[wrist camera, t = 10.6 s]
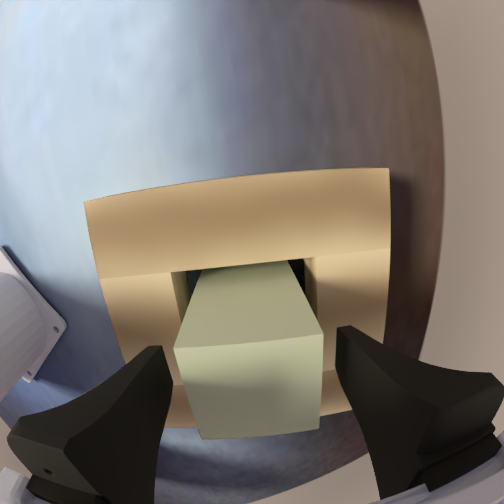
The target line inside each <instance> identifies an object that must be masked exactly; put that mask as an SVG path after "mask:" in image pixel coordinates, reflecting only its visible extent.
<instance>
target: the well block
mask: <svg viewBox="0 0 504 504" xmlns="http://www.w3.org/2000/svg"><path fill="white" fill-rule="evenodd" d="M84 208H85V214H86V220H87V226H88V231H89V236H90V241H91V246H92V251H93V255H94V260H95V264H96V269H97V273H98V277H99V281H100V285H101V288H102V292H103V296H104V299H105V303H106V306H107V310H108V313H109V316H110V320H111V323H112V326H113V329H114V332H115V335H116V338H117V341H118V344H119V347H120V350H121V353H122V355H123V358H124V361H125V364H127V363H128V362H130V361H131V360H132V359H133V358H134V357H135V356H136V355H138V354H139V353H140V352H141V351H142V350H144V349H145V348H146V347H148V346H154V345H162V347H163V350H164V354H165V357H166V360H167V364H168V367H169V370H170V373H171V376H172V380H173V391H172V398H171V404H170V408H169V411H168V415H167V418H166V422H165V426H164V427H169V428H198V427H197V424H196V421H195V419H194V416H193V413H192V410H191V406H190V403H189V400H188V397H187V394H186V391H185V388H184V384H183V381H182V378H181V374H180V371H179V367H178V364H177V360H176V357H175V353H174V349H173V347H174V344H175V341H176V339H177V336H178V333H179V330H180V327H181V325H182V322H183V319H184V316H185V314H186V311H187V308H188V305H189V303H190V300H191V298H190V292H189V287H188V282H187V276H186V271H187V270H197V269H207V268H217V267H226V266H236V265H245V264H255V263H264V262H273V261H282V260H291V259H300V258H304V275H305V297H306V299H307V301H308V303H309V305H310V307H311V309H312V311H313V313H314V315H315V317H316V319H317V321H318V323H319V325H320V327H321V330H322V332H323V369H322V391H321V407H320V416H324V415H329V414H334V413H339V412H343V411H348V410H352V408H351V406H350V403H349V401H348V399H347V397H346V395H345V393H344V391H343V389H342V387H341V384H340V381H339V378H338V375H337V372H336V369H335V354H336V330H337V327H342V326H348V325H351V326H353V327H355V328H357V329H358V330H360V331H362V332H363V333H365V334H367V335H368V336H370V337H372V338H373V339H375V340H377V341H378V342H380V343H382V344H383V338H384V330H385V321H386V311H387V300H388V287H389V271H390V243H391V208H390V180H389V168H344V169H323V170H306V171H291V172H278V173H267V174H256V175H246V176H237V177H228V178H219V179H211V180H204V181H196V182H189V183H182V184H175V185H169V186H162V187H156V188H150V189H144V190H138V191H133V192H127V193H122V194H117V195H112V196H107V197H103V198H98V199H94V200H90V201H86V202H84Z"/></svg>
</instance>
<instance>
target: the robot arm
mask: <svg viewBox="0 0 504 504" xmlns="http://www.w3.org/2000/svg"><path fill="white" fill-rule="evenodd" d="M56 327H57V328H58V329H59V330H58V329H57V328H56ZM66 327H67V324H66V322H65V321H64V319H63V318H62V317H61V316H60V315H59V314H58V313H57V312H56V311H55V310H54V309H53V308H52V307H51V306H50V305H49V304H48V302H47V301H46V300H45V299H44V298H43V297H42V296H41V295H40V294H39V292H38V291H37V290H36V289H35V288H34V287H33V286H32V284H31V283H30V282H29V281H28V280H27V278H26V277H25V276H24V275H23V274H22V272H21V271H20V270H19V269H18V267H17V266H16V265H15V263H14V262H13V261H12V260H11V258H10V257H9V256H8V254H7V253H6V252H5V250H4V249H3V248H2V247H1V246H0V402H1V401H2V399H3V398H4V397H5V396H6V394H7V393H8V392H9V391H10V390H11V388H12V387H13V386H14V385H15V384H16V383H17V381H18V380H19V379H20V378H21V377H22V378H23V379H24V380H26V381H27V382H31V381H32V380H33V378H34V377H35V375H36V373H37V372H38V370H39V369H40V367H41V365H42V364H43V362H44V361H45V359H46V358H47V356H48V355H49V353H50V352H51V350H52V349H53V347H54V346H55V344H56V343H57V341H58V340H59V338H60V337H61V335H62V334H63V332H64V331H65V329H66ZM335 369H336V372H337V375H338V378H339V381H340V384H341V387H342V389H343V391H344V393H345V395H346V397H347V399H348V401H349V403H350V406H351V408H352V410H353V412H354V414H355V416H356V418H357V420H358V422H359V424H360V427H361V429H362V432H363V435H364V438H365V441H366V444H367V447H368V450H369V454H370V457H371V461H372V465H373V468H374V472H375V476H376V481H377V485H378V490H379V495H380V501H376V502H373V503H370V504H504V431H503V432H502V433H501V434H500V435H499V436H498V437H497V438H496V437H495V435H494V434H493V432H494V431H495V426H494V425H493V424H492V423H491V422H492V420H493V418H494V416H495V415H496V413H497V411H498V409H499V407H500V405H501V403H502V400H503V398H504V386H503V384H502V383H501V382H500V381H499V380H498V379H497V378H496V377H495V376H494V375H493V374H492V373H485V372H484V373H483V372H466V371H459V370H452V369H447V368H442V367H438V366H434V365H430V364H427V363H424V362H421V361H418V360H416V359H413V358H410V357H408V356H406V355H403V354H401V353H399V352H397V351H395V350H393V349H391V348H389V347H387V346H385V345H384V344H382V343H380V342H378V341H377V340H375V339H373V338H372V337H370V336H368V335H367V334H365V333H363V332H362V331H360V330H358V329H357V328H355V327H353V326H351V325H348V326H342V327H337V330H336V354H335ZM172 391H173V380H172V376H171V373H170V370H169V367H168V364H167V360H166V357H165V354H164V350H163V347H162V345H154V346H148V347H146V348H145V349H144V350H142V351H141V352H140V353H139V354H138V355H136V356H135V357H134V358H133V359H132V360H131V361H130V362H128V363H127V364H126V365H125V366H124V367H122V368H121V369H120V370H119V371H118V372H116V373H115V374H114V375H112V376H111V377H110V378H108V379H107V380H106V381H104V382H103V383H102V384H100V385H99V386H97V387H96V388H94V389H92V390H91V391H89V392H87V393H86V394H84V395H82V396H80V397H78V398H76V399H74V400H72V401H70V402H68V403H66V404H63V405H61V406H58V407H55V408H52V409H50V410H47V411H43V412H40V413H35V414H31V415H27V416H22V417H20V418H19V420H18V421H17V422H16V424H15V425H14V427H13V429H12V430H11V432H10V433H9V435H8V436H7V441H8V444H9V446H10V448H11V450H12V451H13V452H14V454H15V455H16V456H17V457H18V459H19V460H20V461H21V462H22V463H23V464H24V465H25V467H27V469H28V470H29V471H30V472H31V473H32V474H33V475H32V477H31V478H30V479H28V478H27V477H26V476H24V475H22V474H20V473H18V472H16V471H13V470H12V469H9V468H8V467H4V469H3V471H2V472H1V474H0V504H154V486H155V473H156V464H157V456H158V449H159V444H160V440H161V436H162V433H163V429H164V426H165V422H166V418H167V415H168V411H169V408H170V404H171V398H172Z"/></svg>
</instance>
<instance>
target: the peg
mask: <svg viewBox="0 0 504 504" xmlns="http://www.w3.org/2000/svg"><path fill="white" fill-rule="evenodd" d="M173 349H174V353H175V357H176V360H177V364H178V367H179V371H180V374H181V378H182V381H183V384H184V388H185V391H186V394H187V397H188V400H189V403H190V406H191V410H192V413H193V416H194V419H195V421H196V424H197V427H198V430H199V433H200V436H201V438H202V439H234V438H249V437H261V436H271V435H280V434H288V433H295V432H302V431H308V430H314V429H319V422H320V407H321V391H322V369H323V332H322V330H321V327H320V325H319V323H318V321H317V319H316V317H315V315H314V313H313V311H312V309H311V307H310V305H309V303H308V301H307V299H306V297H305V295H304V293H303V291H302V289H301V287H300V285H299V283H298V281H297V279H296V277H295V275H294V273H293V271H292V269H291V267H290V265H289V263H288V261H287V260H282V261H273V262H264V263H255V264H245V265H236V266H226V267H217V268H207V269H202V271H201V273H200V276H199V279H198V281H197V284H196V287H195V289H194V292H193V295H192V297H191V300H190V303H189V305H188V308H187V311H186V314H185V316H184V319H183V322H182V325H181V327H180V330H179V333H178V336H177V339H176V341H175V344H174V347H173Z"/></svg>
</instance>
